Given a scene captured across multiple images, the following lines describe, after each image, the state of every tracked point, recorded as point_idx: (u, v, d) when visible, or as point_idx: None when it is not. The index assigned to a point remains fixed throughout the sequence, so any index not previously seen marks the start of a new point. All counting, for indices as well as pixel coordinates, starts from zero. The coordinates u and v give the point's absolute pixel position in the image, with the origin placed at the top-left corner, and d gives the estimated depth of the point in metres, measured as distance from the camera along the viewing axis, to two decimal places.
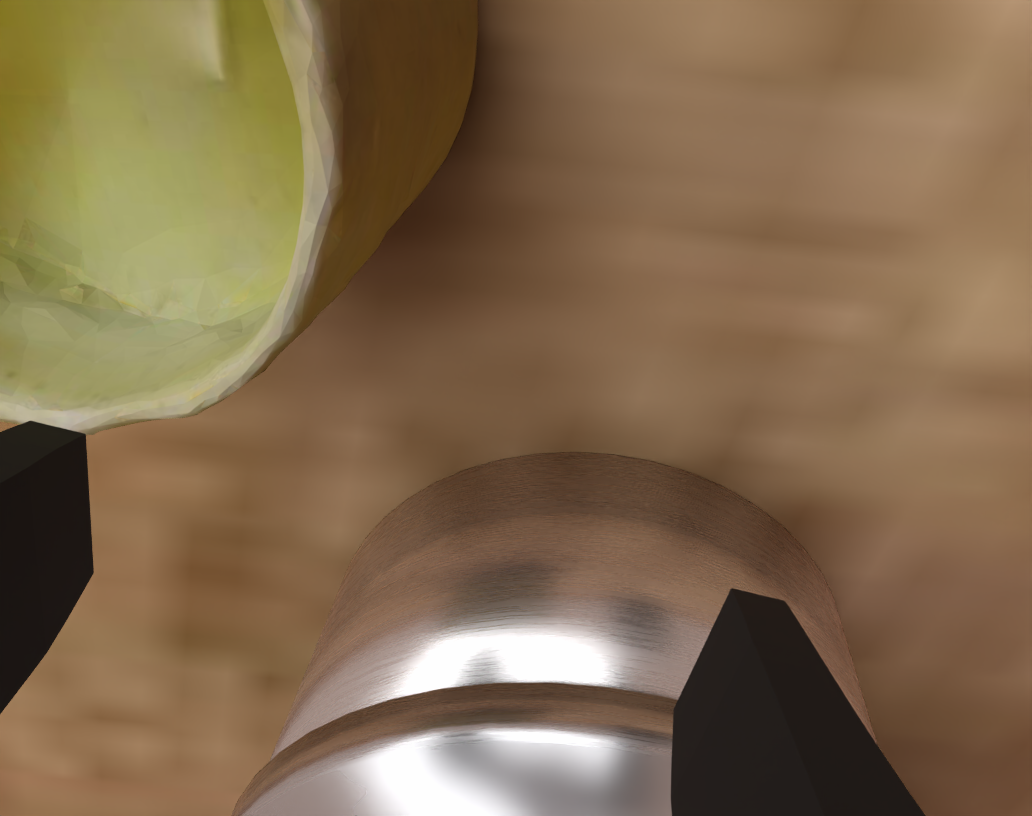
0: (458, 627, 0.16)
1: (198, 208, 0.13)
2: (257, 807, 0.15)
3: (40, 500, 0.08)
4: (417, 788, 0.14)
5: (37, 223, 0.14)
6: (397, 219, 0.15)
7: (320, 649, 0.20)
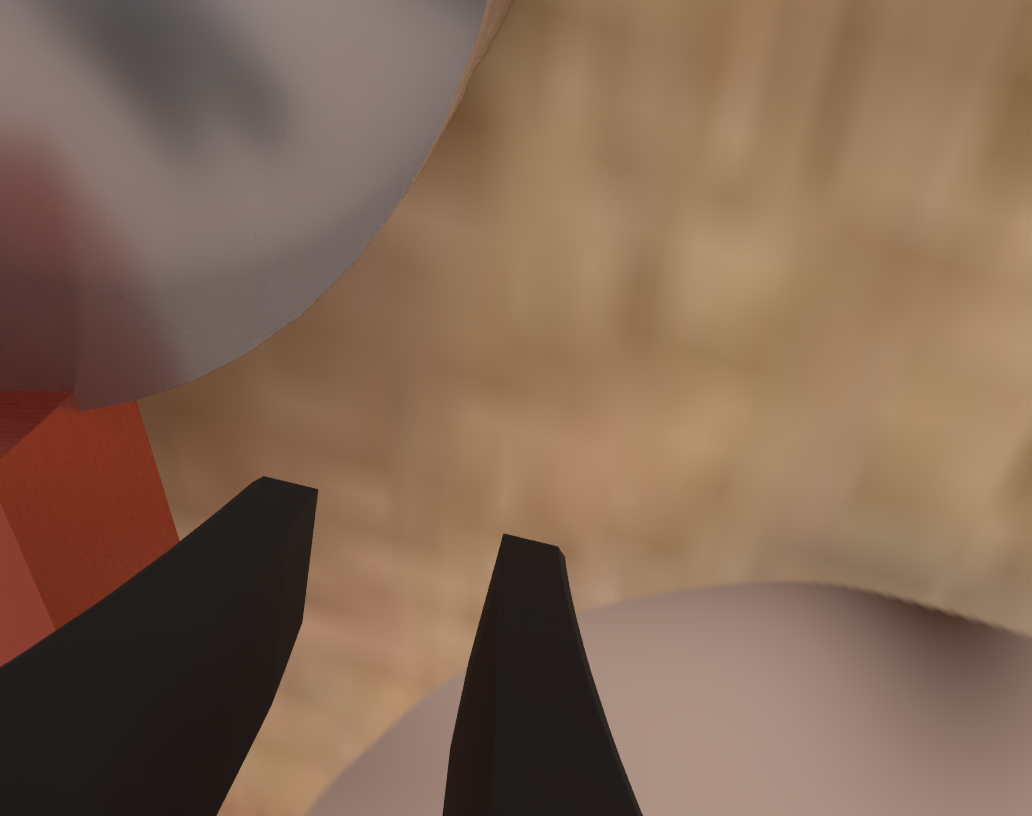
0: None
1: None
2: None
3: (289, 559, 0.09)
4: None
5: None
6: None
7: None
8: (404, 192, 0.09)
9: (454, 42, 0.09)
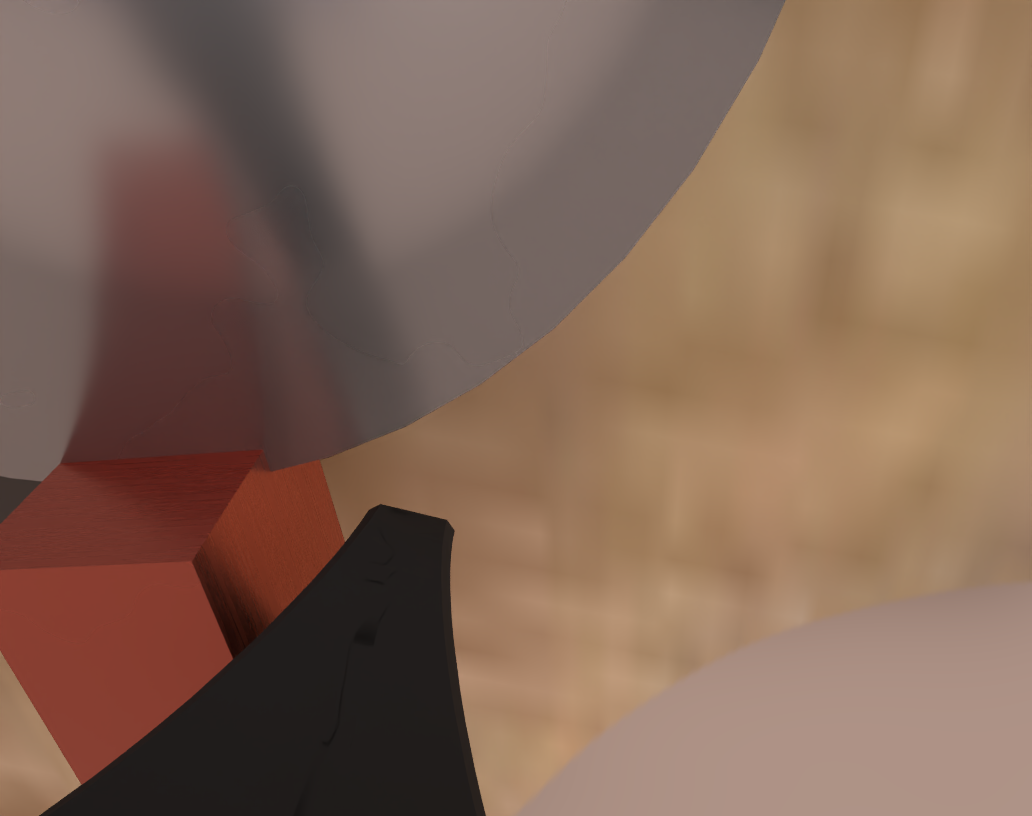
0: None
1: None
2: None
3: None
4: None
5: None
6: None
7: None
8: (697, 158, 0.07)
9: None
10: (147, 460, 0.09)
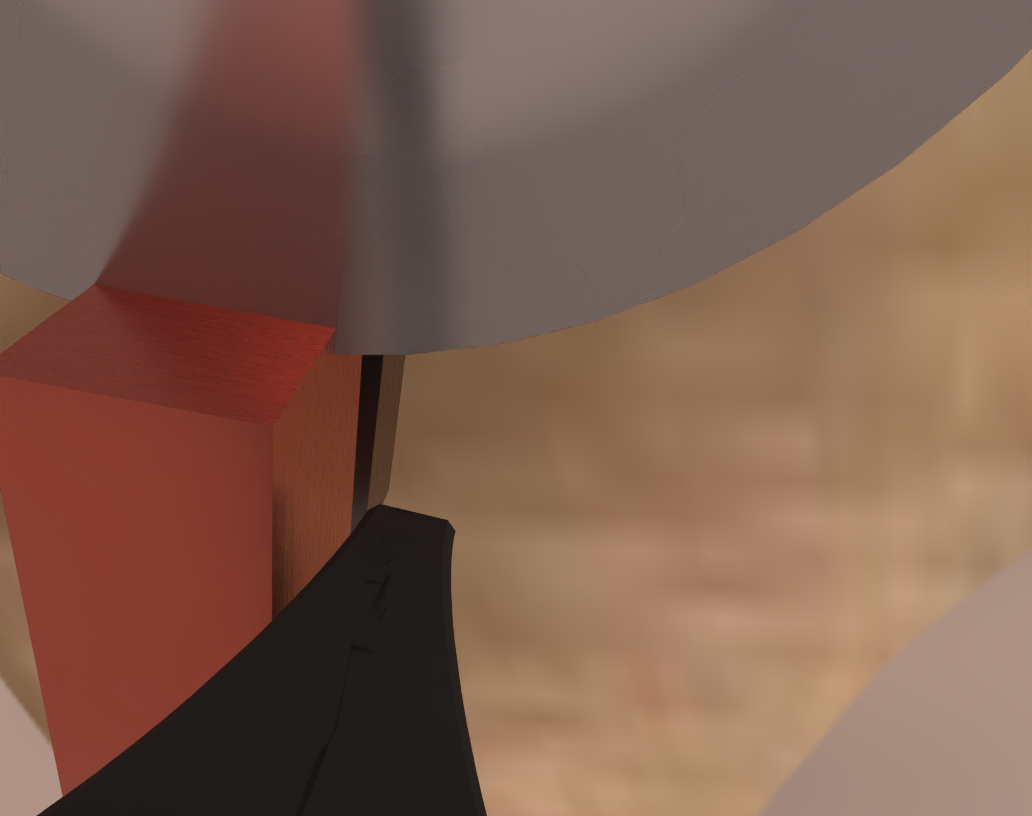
0: None
1: None
2: None
3: None
4: None
5: None
6: None
7: None
8: (906, 153, 0.07)
9: None
10: (200, 307, 0.08)
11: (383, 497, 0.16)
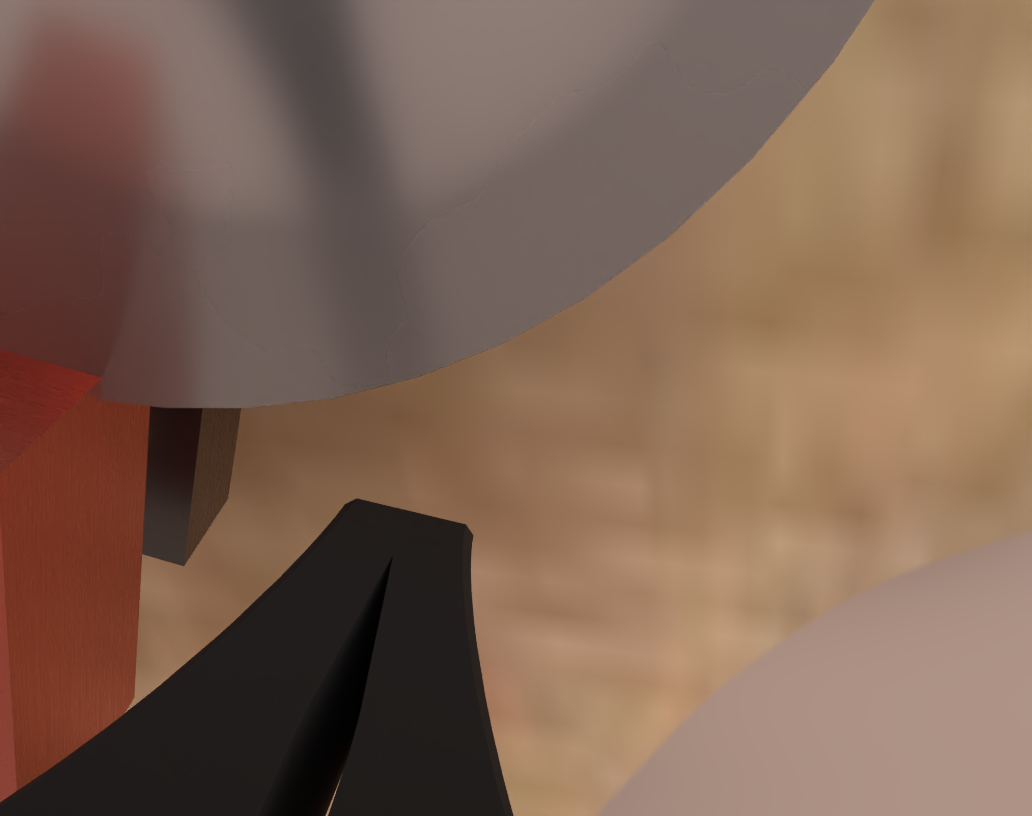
0: None
1: None
2: None
3: None
4: None
5: None
6: None
7: None
8: (591, 290, 0.08)
9: (722, 159, 0.07)
10: None
11: (218, 507, 0.17)
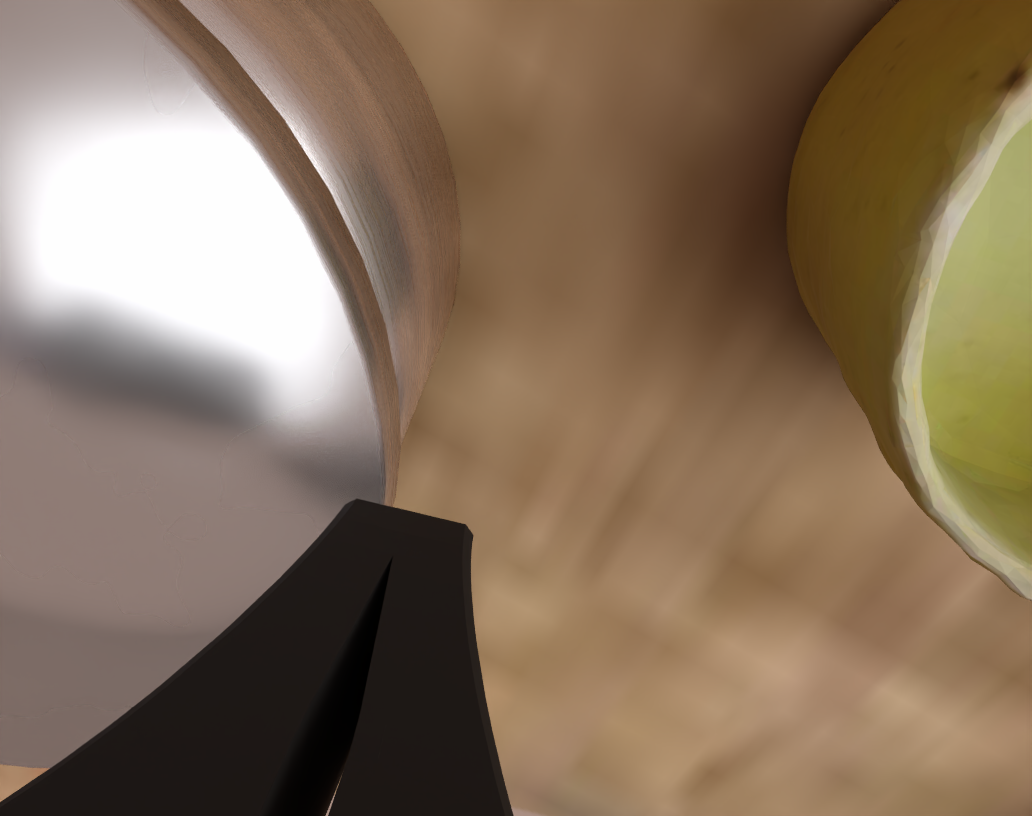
0: (403, 334, 0.14)
1: (990, 283, 0.12)
2: (378, 432, 0.11)
3: None
4: None
5: None
6: (820, 331, 0.16)
7: (303, 24, 0.13)
8: None
9: None
10: None
11: None
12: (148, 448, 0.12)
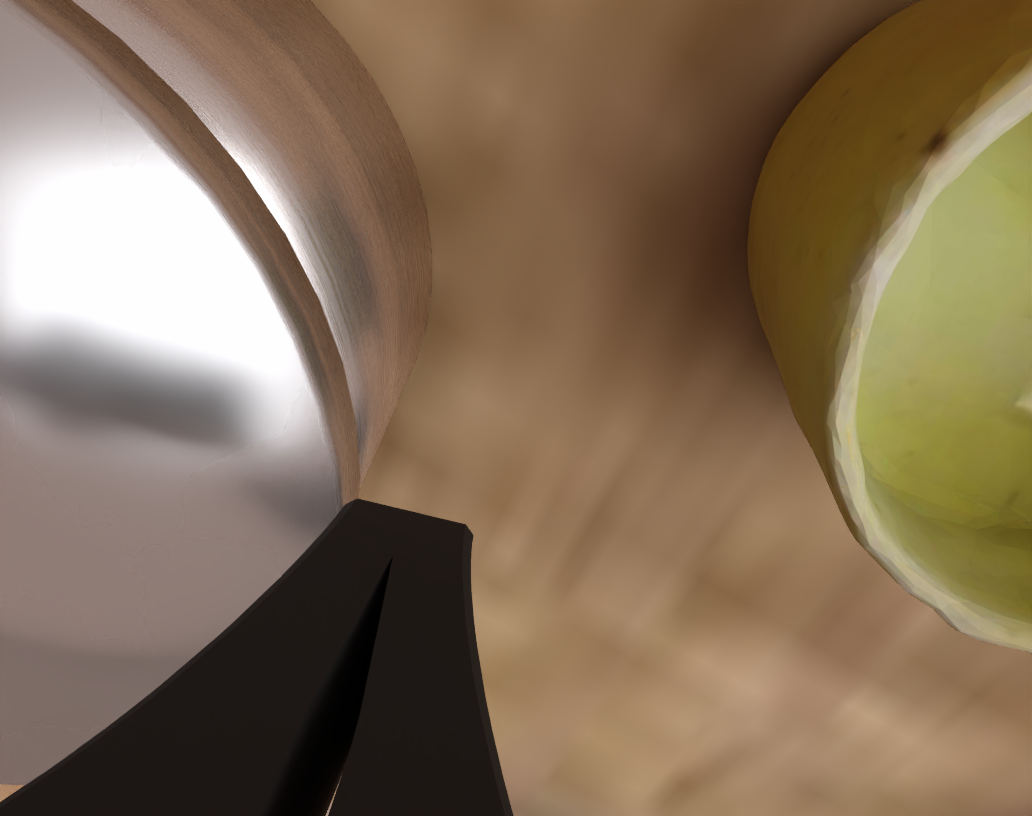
0: (366, 367, 0.14)
1: (933, 325, 0.13)
2: (334, 469, 0.11)
3: None
4: None
5: None
6: None
7: (269, 66, 0.13)
8: None
9: None
10: None
11: None
12: (111, 481, 0.12)
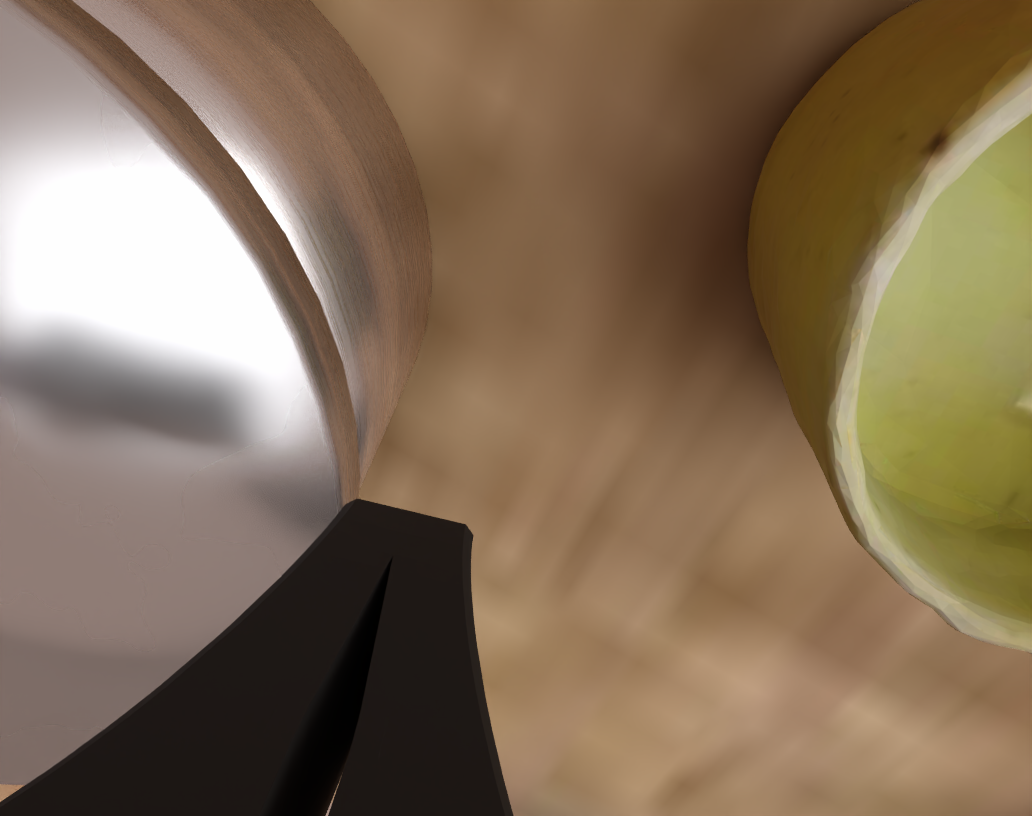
0: (366, 367, 0.14)
1: (933, 325, 0.13)
2: (334, 469, 0.11)
3: None
4: None
5: None
6: None
7: (269, 66, 0.13)
8: None
9: None
10: None
11: None
12: (111, 481, 0.12)
